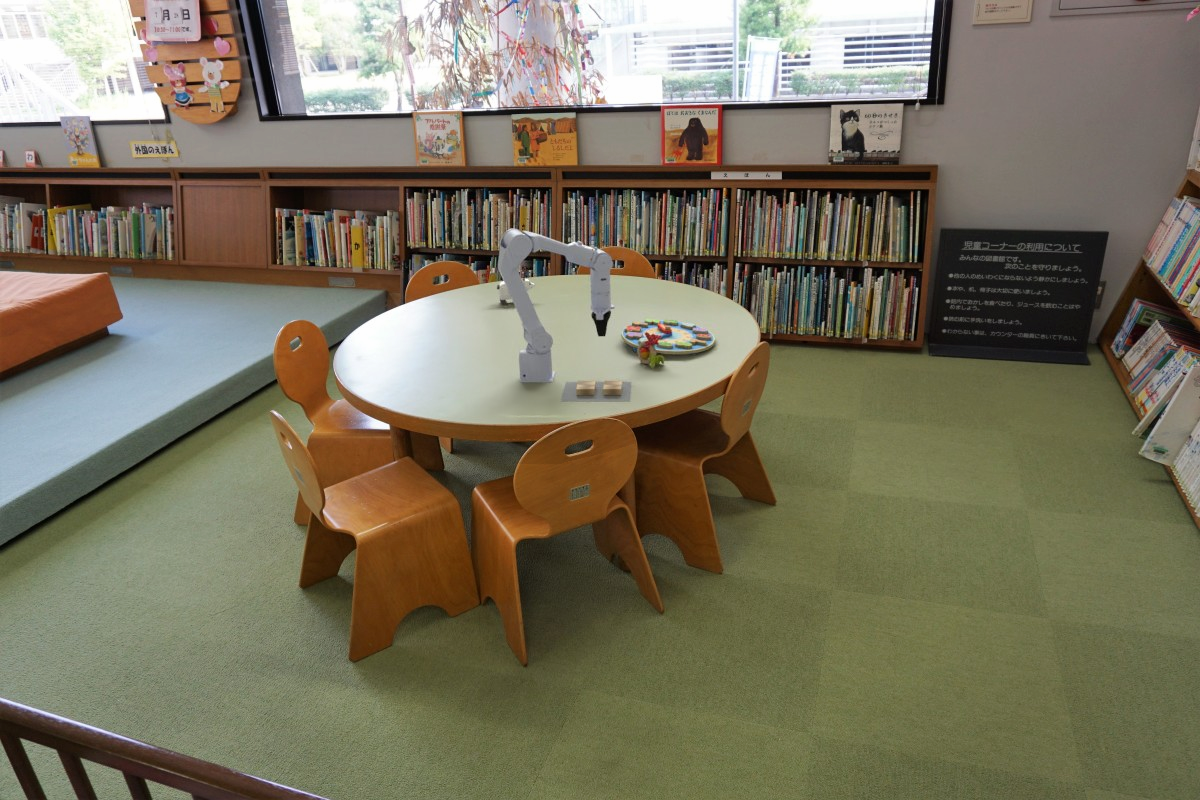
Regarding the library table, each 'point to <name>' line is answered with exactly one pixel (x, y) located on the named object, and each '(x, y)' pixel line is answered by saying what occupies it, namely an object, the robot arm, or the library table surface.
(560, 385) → the library table surface
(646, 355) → the bird rattle
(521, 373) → the robot arm
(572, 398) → the felt mat
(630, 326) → the shape sorting clock
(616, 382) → the right oak tile
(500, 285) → the giant panda
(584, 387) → the left oak tile
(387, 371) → the library table surface
